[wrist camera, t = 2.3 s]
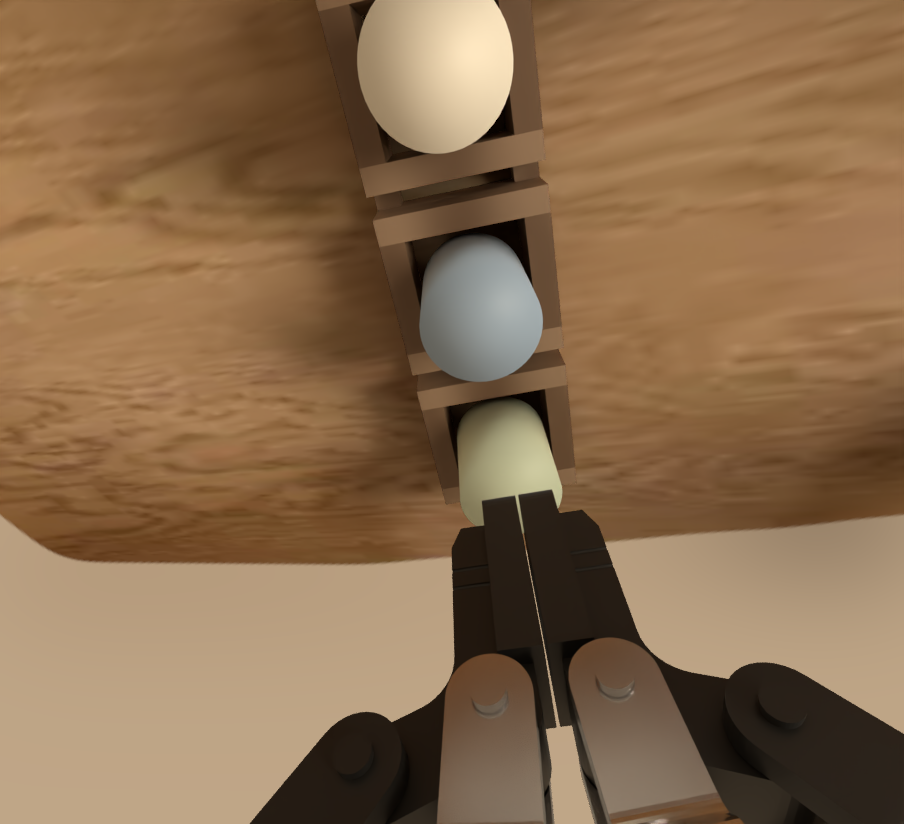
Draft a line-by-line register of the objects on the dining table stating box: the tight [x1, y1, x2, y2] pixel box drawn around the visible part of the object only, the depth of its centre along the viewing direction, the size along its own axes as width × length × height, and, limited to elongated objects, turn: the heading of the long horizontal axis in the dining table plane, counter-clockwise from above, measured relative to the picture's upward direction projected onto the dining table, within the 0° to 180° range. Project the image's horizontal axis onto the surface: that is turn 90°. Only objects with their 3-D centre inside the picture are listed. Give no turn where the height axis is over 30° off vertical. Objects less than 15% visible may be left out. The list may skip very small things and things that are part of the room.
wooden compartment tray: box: [315, 0, 577, 504], centre depth 28 cm, size 8×27×4 cm, turn 11°
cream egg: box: [357, 0, 513, 154], centre depth 20 cm, size 5×5×6 cm
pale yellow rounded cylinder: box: [457, 397, 562, 533], centre depth 29 cm, size 5×5×6 cm
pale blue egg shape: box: [419, 233, 543, 382], centre depth 24 cm, size 5×5×6 cm
